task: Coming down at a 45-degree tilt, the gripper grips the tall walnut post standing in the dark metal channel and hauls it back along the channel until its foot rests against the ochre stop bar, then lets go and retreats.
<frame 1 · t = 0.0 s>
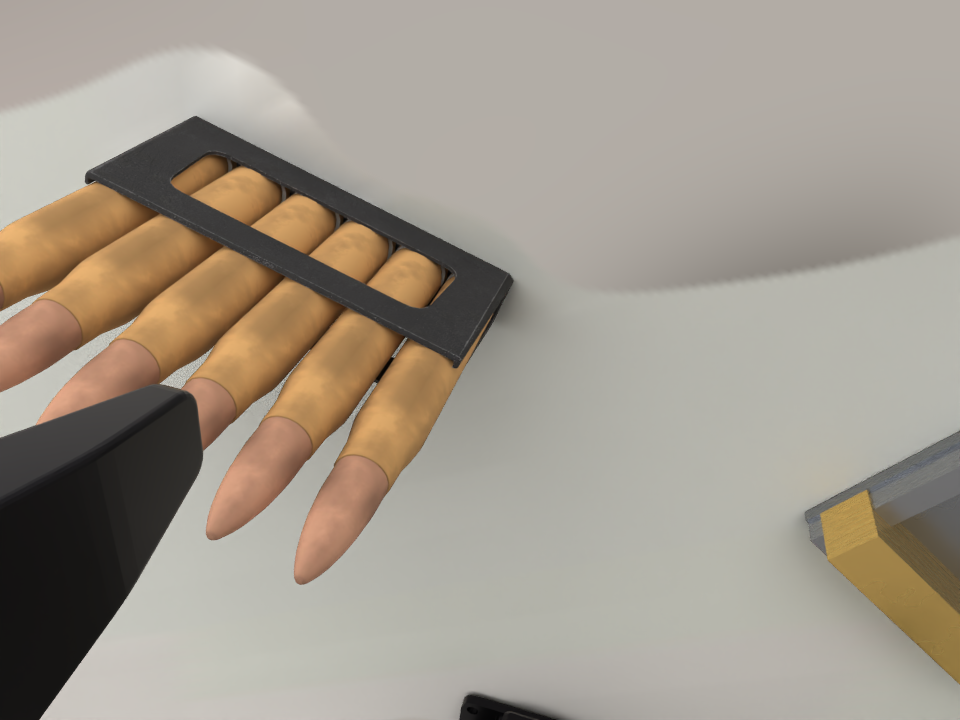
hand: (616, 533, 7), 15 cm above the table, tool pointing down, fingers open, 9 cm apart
ammunition clip: (348, 219, 24), on the table
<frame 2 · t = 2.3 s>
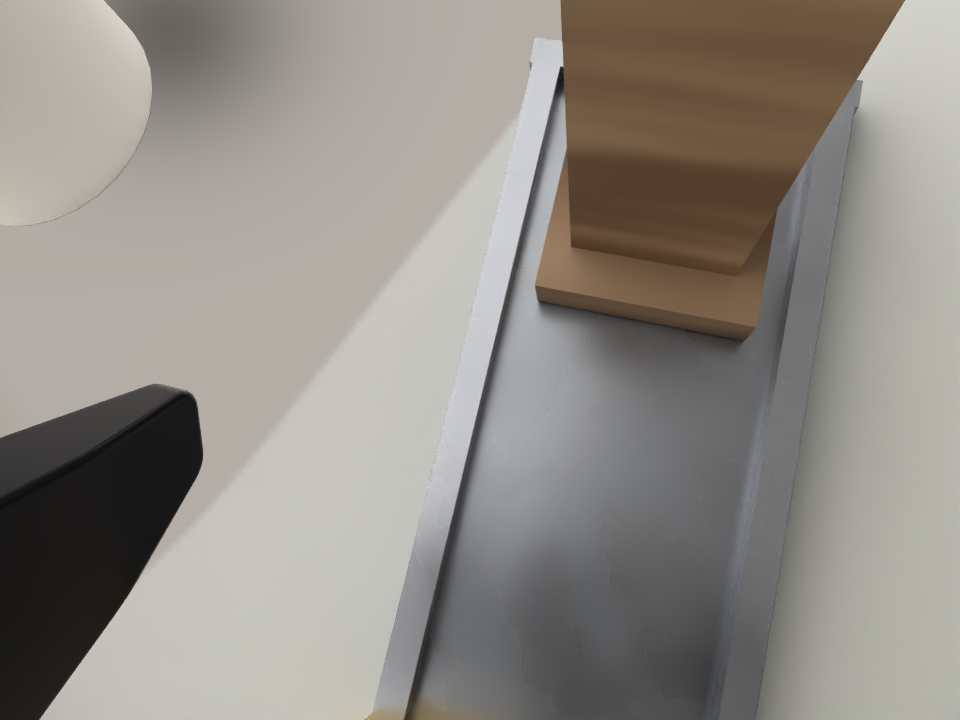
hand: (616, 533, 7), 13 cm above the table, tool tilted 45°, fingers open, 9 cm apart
cup: (52, 62, 26), on the table
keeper: (691, 90, 15), point 7 cm above the table, slide at 0.0 cm
track: (615, 430, 21), on the table
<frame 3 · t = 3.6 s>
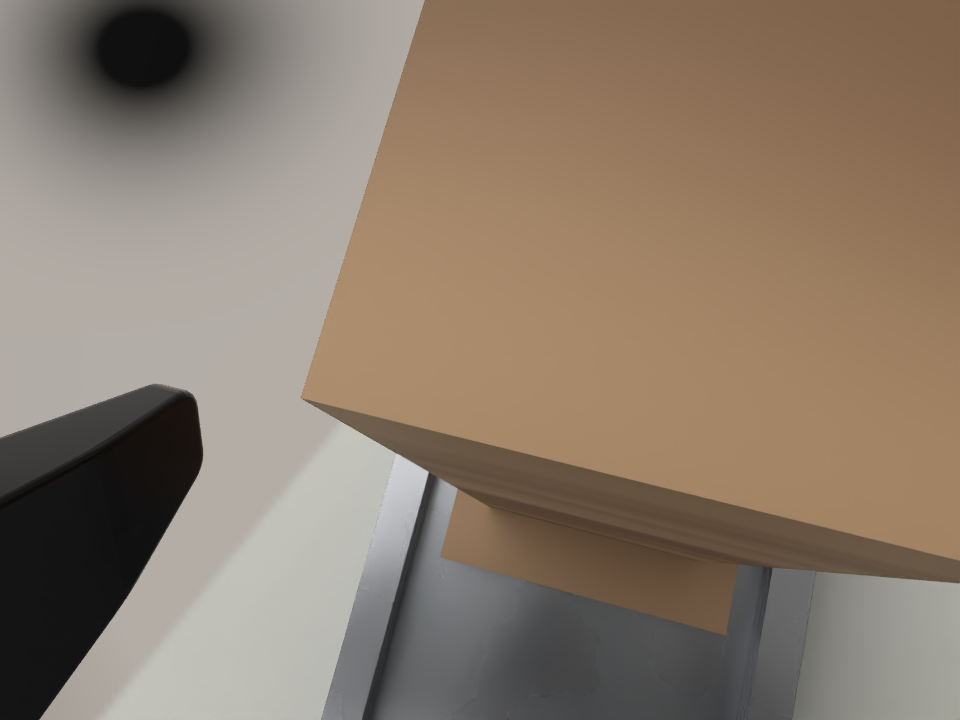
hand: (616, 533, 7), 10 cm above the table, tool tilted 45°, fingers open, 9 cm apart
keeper: (633, 396, 11), point 7 cm above the table, slide at 0.0 cm
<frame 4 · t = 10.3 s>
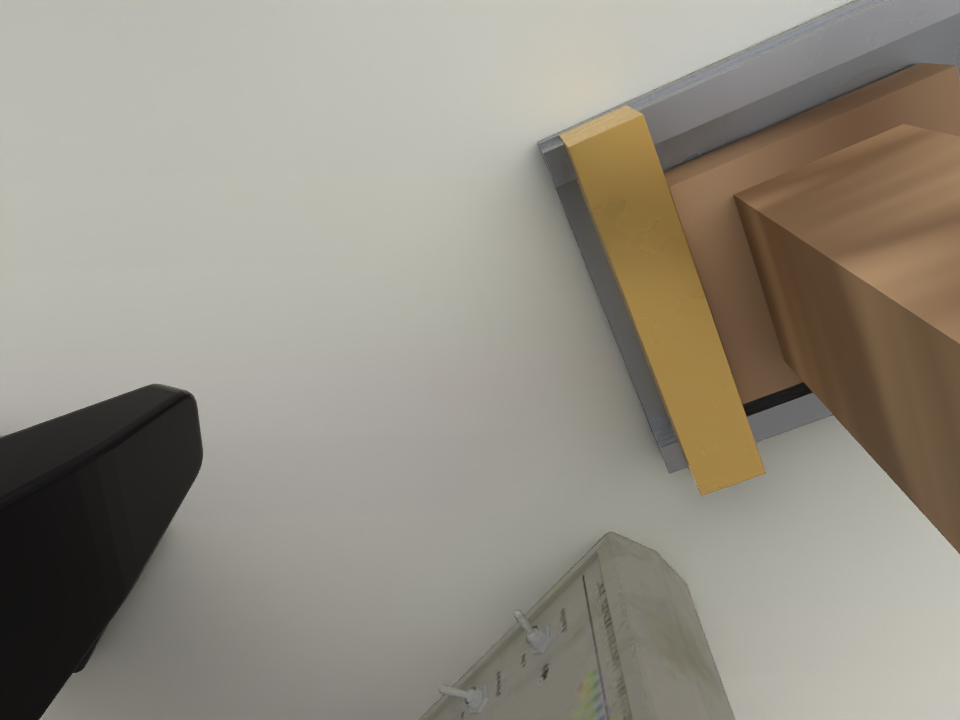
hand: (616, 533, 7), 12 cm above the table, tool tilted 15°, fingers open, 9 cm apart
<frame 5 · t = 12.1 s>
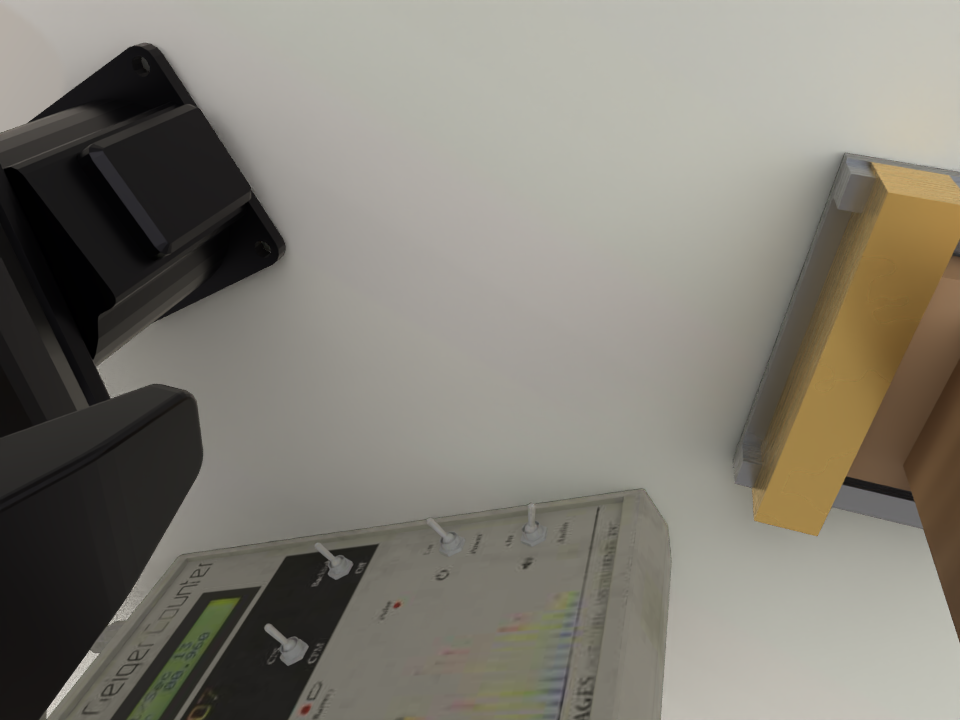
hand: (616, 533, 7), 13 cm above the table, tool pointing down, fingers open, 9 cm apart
geiger counter: (348, 570, 29), on the table
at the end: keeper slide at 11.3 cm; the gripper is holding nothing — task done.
